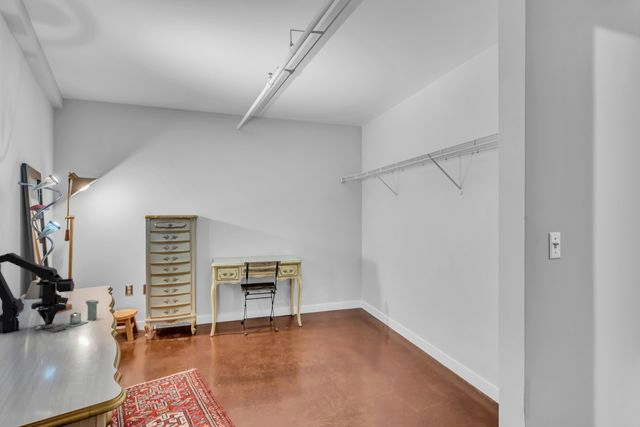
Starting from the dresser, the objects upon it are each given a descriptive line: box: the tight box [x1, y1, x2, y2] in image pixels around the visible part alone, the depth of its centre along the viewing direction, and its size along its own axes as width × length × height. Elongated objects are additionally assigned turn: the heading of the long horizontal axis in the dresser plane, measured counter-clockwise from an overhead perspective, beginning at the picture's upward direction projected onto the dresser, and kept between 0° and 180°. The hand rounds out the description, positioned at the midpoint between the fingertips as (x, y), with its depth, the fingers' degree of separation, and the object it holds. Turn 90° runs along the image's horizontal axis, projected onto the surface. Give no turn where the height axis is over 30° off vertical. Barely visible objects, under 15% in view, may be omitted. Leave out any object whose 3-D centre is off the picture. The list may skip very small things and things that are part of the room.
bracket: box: [55, 303, 73, 315], centre depth 203 cm, size 18×8×7 cm, turn 176°
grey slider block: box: [34, 316, 56, 330], centre depth 170 cm, size 8×4×6 cm, turn 159°
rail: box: [38, 324, 67, 333], centre depth 171 cm, size 5×13×2 cm, turn 69°
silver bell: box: [69, 311, 82, 325], centre depth 179 cm, size 5×5×6 cm
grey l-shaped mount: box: [62, 299, 99, 329], centre depth 182 cm, size 14×8×10 cm, turn 159°
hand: (48, 323), depth 172 cm, fingers closed on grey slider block, 3 cm apart
